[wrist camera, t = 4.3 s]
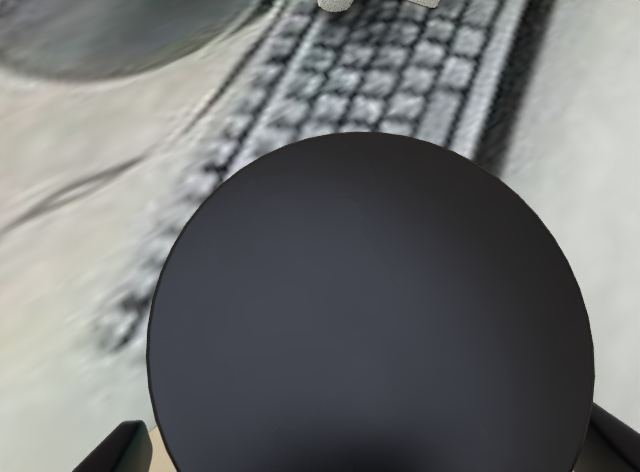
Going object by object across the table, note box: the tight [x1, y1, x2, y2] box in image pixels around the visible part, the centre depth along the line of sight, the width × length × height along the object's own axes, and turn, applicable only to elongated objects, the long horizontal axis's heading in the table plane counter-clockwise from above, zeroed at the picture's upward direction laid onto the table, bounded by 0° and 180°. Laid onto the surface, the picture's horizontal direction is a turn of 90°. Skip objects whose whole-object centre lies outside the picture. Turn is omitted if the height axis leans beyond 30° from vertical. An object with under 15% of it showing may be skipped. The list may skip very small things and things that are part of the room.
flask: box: [146, 132, 595, 472], centre depth 11 cm, size 7×7×12 cm
